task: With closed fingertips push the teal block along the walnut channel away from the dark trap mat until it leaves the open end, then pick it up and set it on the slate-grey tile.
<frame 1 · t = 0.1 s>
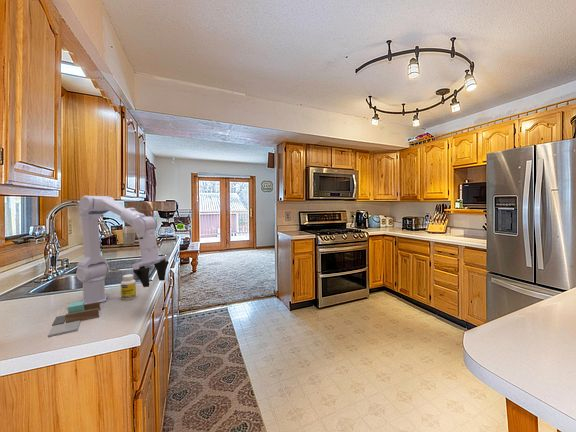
hand: (154, 283, 95), 11 cm above the countertop, tool pointing down, fingers open, 7 cm apart
supplement bottle: (128, 298, 108), on the countertop
tile: (65, 329, 81), on the countertop
block: (76, 317, 90), on the countertop
channel: (83, 316, 91), on the countertop
trap mat: (60, 320, 87), on the countertop
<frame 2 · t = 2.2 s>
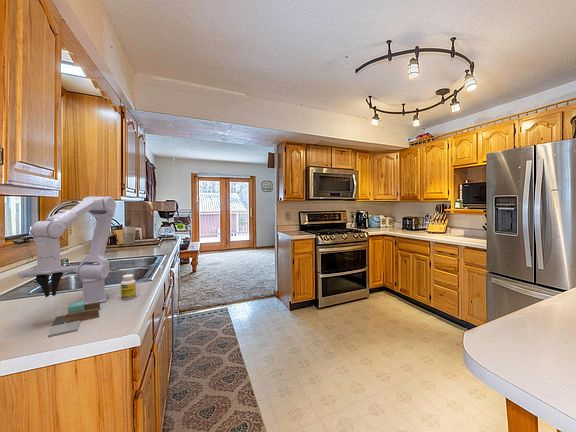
hand: (50, 295, 85), 9 cm above the countertop, tool pointing down, fingers closed
nothing on the countertop moved.
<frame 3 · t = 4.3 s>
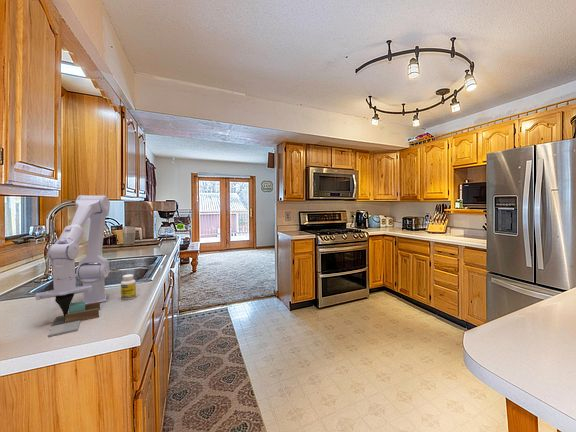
hand: (66, 315, 88), 1 cm above the countertop, tool pointing down, fingers closed, pressing on block
block: (77, 317, 90), on the countertop, touching gripper
everything else where it was.
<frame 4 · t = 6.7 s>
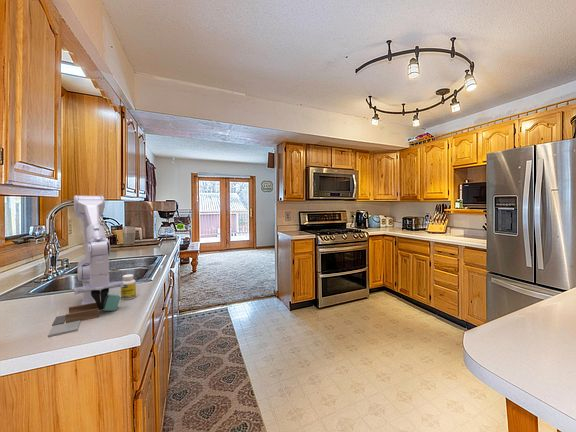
hand: (100, 309, 93), 1 cm above the countertop, tool pointing down, fingers closed
block: (109, 308, 96), point 1 cm above the countertop, tilted 17°, touching gripper
everything else where it was.
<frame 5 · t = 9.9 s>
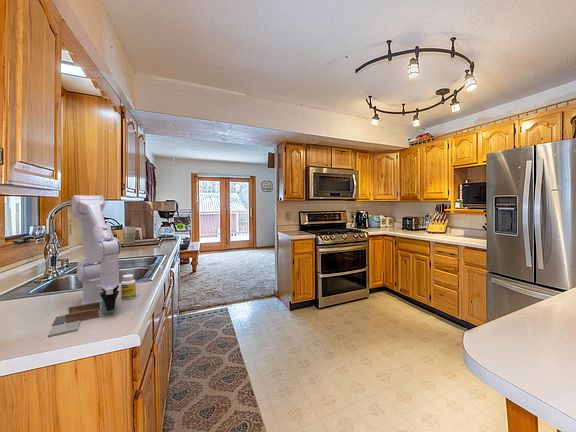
hand: (110, 307, 95), 1 cm above the countertop, tool pointing down, fingers open, 5 cm apart
block: (108, 310, 95), on the countertop, touching gripper
everything else where it was.
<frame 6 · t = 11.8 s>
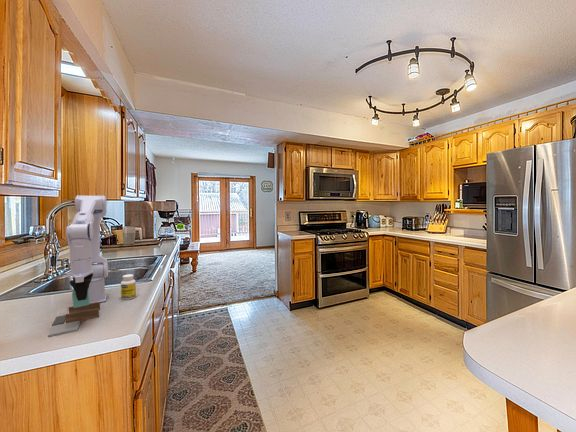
hand: (82, 297, 86), 9 cm above the countertop, tool pointing down, fingers closed on block, 4 cm apart
block: (82, 304, 86), point 6 cm above the countertop, touching gripper
everything else where it was.
when the fingers open (3 cm above the countertop, at t = 13.6 s): block stays where it is, resting on tile.
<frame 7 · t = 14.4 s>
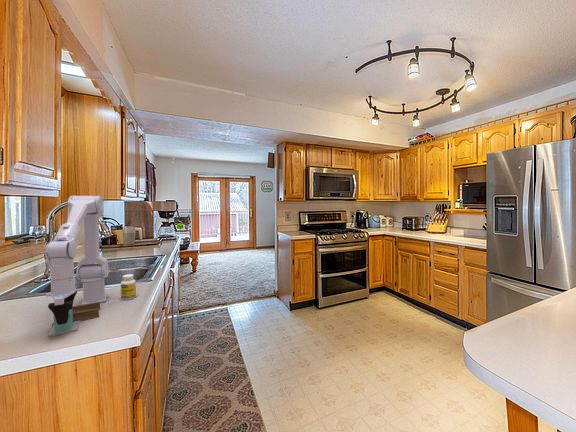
hand: (64, 318, 81), 3 cm above the countertop, tool pointing down, fingers open, 7 cm apart
block: (64, 327, 81), point 1 cm above the countertop, touching tile
everything else where it was.
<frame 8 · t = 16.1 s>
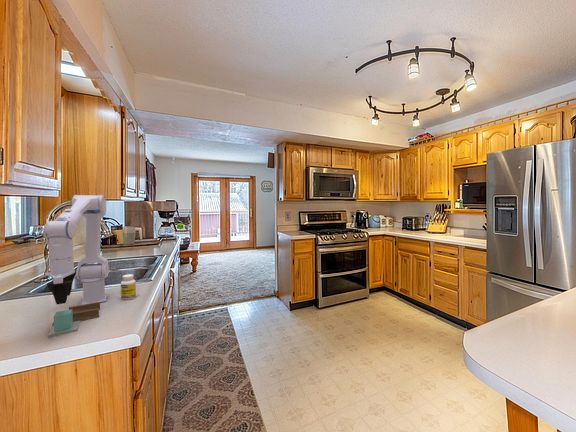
hand: (63, 299, 81), 10 cm above the countertop, tool pointing down, fingers open, 7 cm apart
nothing on the countertop moved.
at the end: block inside the target area on the tile (0.3 cm from its centre), point 0.6 cm above the tile's base; block tilted 0°; the gripper is holding nothing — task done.
